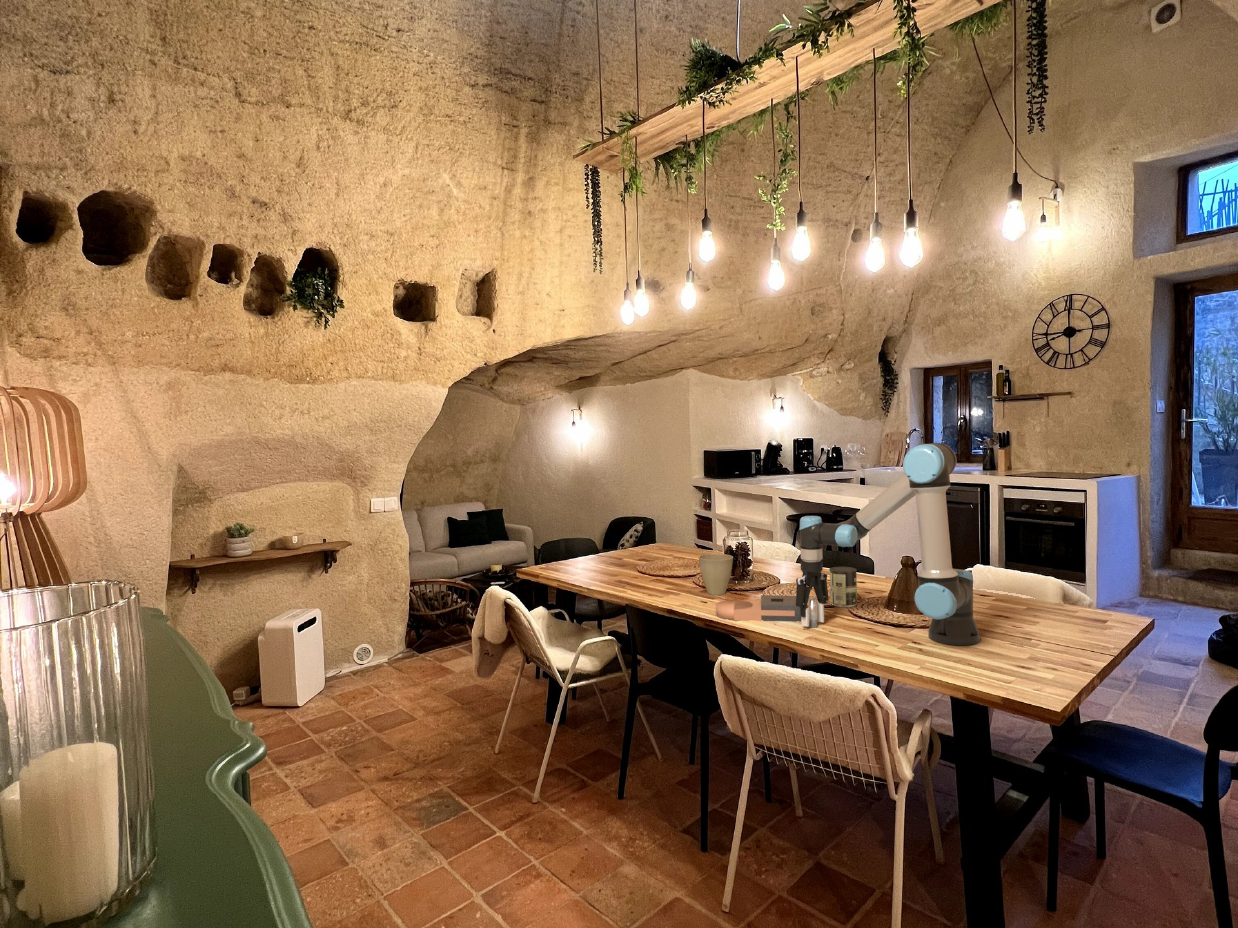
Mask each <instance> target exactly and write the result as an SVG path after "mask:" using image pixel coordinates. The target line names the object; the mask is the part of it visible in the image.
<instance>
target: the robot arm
mask: <svg viewBox="0 0 1238 928" xmlns="http://www.w3.org/2000/svg"><path fill="white" fill-rule="evenodd" d="M957 461H958V460H957V455H956V452H955V451H954V450H953V449H952V447H950V446H948V445H947V444H945V443H942V442H933V443H932V442H931V443H923V444H919V445H916V446H914V447H912V448H910V450H908V451H907V453H906V454H905V456H904V457H903V461H902V470H903V473H904V474H903V475H902V476H900V477H899V478H898V479H897V480H896V481H894V482H893V483H892V484H890V486H888V487H887V488H886V489H884V490H883V491H882V492H881V493H880V494H878V495H877V496H876V497H874V498H873V499H872V500H871V501H870V502H868V503H867V504H866V505H865V506H863V508H861V509H860V510H858V511H857V512H856V513H855V514H854V515H852V516H851V517H850V518H849V519H847V520H845V521H841V522H839V523H830V522H828V523H827V522H823V519H822V517H821V516H818V515H805V516H802V517H801V518H800V519H799V529H798V530H799V538H800V539H799V541H800V542H799V544H800V545H799V546H800V559H801V560H800V571H801V572H802V575H801V577H800V578H796V579H795V582H796V594H795V596H796V606H798V607H800V612H801V613H800V615H801V622H800V623H801V626H803V627H808V628H809V608H808V599H809V598H810V595H811V594H810V593H811V590H813V589H814V593H815V596H816V597H815V598H816V599H817V622H818V623H824V622H825V605H827V604H828V601H829V600H830V597H829V589H828V574H827V573H822V571H823V569H824V568H823V566H824V565H823V561H822V560H823V559H824V558H823V557H824V556H823V545H824V546H833V547H834V546H836V547H841V548H846V547H847V548H850V547H851V548H852V547H854V546H855V545H856V543H857V541H859V540H862V539H864V538H865V537H866V536H867V535H868V534H869V532H870V531H871V530H872V529H873V528H875V527H877V525H879V524H881V522H883V521H884V520H885V519H887V518H888V517H889V516H891V515H892V514H893V513H894V512H896V511H897V510H898V509H900V508H902V506H904V505H905V504H906V503H908V501H910V500H911V499H912V498H914V497H915V500H916V501H915V504H916V515H917V524H918V535H919V548H920V559H921V560H920V561H921V570H919V571H918V573H917V583H918V584H917V585H918V587H917V589H916V590H915V593H914V603H915V606H916V608H917V609H918V611H919V612H921V613H922V614H923V615H924V616H925V617H927V618H930V619H931V622H930V624H929V626H928V630H927V631H928V635H927V636H928V638H929V639H930V640H931V641H934V642H937V643H940V644H945V645H951V646H954V645H955V646H972V645H976V644H979V642H980V632H979V629H978V626H977V623H976V621H975V618H974V579H973V578H974V577H973V573H972V572H971V571H969V570H966V569H958V568H953V564H952V552H951V551H952V550H951V540H950V530H949V529H950V528H949V517H948V516H949V515H948V506H947V494H946V493H947V492H946V491H948V489H949V488H950V487H951V479H950V477H951V476H950V475H951V474H952V473H953V472H954V471H955V468H957V463H958V462H957Z"/></svg>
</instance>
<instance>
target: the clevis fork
mask: <svg viewBox="0 0 1238 928" xmlns="http://www.w3.org/2000/svg"><path fill="white" fill-rule="evenodd" d="M760 600H761V610H784V611H795V616H766V615H761V620H763V621H765V622H797V621H799V622H800V623H801V615H800V613H801V612H800V607H798V606H796V595H765V594H764V595H760ZM763 621H762V622H763Z"/></svg>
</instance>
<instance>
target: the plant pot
mask: <svg viewBox="0 0 1238 928" xmlns="http://www.w3.org/2000/svg"><path fill="white" fill-rule="evenodd" d="M733 563H734V556H732V555H730V554H725V553H708V554H707V553H706V554H701V555H699V556H698V564H699V568H700V573H701V577H702V581H703V584H704V587H705V589H706V592H707V594H708V595H711V596H722V595H725V594H726V591H727V589H728V584H729V582H730V579H731V573H732V569H733Z"/></svg>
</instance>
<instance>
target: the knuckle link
mask: <svg viewBox="0 0 1238 928" xmlns="http://www.w3.org/2000/svg"><path fill="white" fill-rule="evenodd" d="M715 613H716V615H715V616H716V617H717V618H719V619H723V620H726V619H728V620H727V621H750V620H757V621H756V622H759V621H760V622H762V621H761V615H766V616H795V611H784V610H761V599H760V600H758V599H757V600H754V599H751V600H749V599H748V600H747V599H727V600H722V601H718V602H717V603H716V604H715ZM758 620H759V621H758Z"/></svg>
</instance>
